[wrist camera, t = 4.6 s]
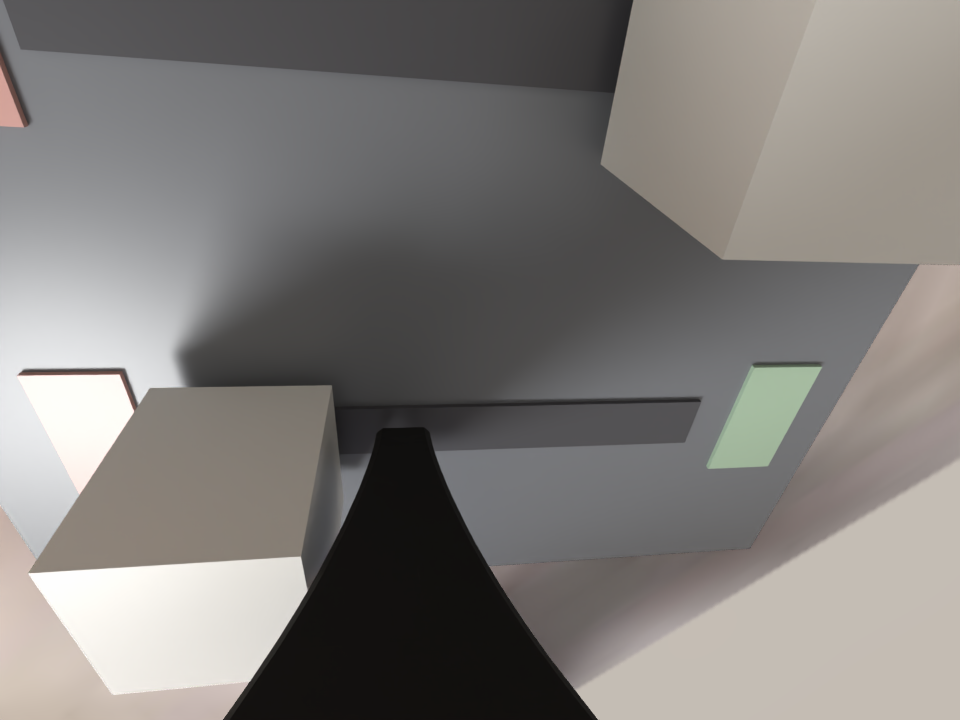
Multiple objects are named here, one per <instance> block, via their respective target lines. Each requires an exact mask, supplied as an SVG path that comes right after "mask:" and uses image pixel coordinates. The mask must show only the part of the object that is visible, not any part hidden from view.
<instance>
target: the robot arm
mask: <svg viewBox="0 0 960 720" xmlns="http://www.w3.org/2000/svg"><path fill="white" fill-rule="evenodd" d="M223 720H598V719H597V718H596V717H595V715H594V714H593V713H592V712H591V710H590V709H589V708H588V706H587V705H586V704H585V703H584V701H583V700H582V699H581V698H580V696H579V695H578V693H577V692H576V691H575V690H574V688H573V687H572V686H571V685H570V683H569V682H568V681H567V679H566V678H565V677H564V676H563V674H562V673H561V672H560V670H559V669H558V668H557V667H556V665H555V664H554V663H553V661H552V660H551V659H550V658H549V656H548V655H547V653H546V652H545V651H544V649H543V648H542V646H541V645H540V644H539V642H538V641H537V639H536V638H535V637H534V635H533V634H532V632H531V631H530V629H529V628H528V627H527V625H526V624H525V622H524V621H523V619H522V618H521V616H520V615H519V613H518V612H517V610H516V609H515V607H514V606H513V604H512V603H511V601H510V600H509V598H508V597H507V595H506V594H505V592H504V590H503V589H502V587H501V586H500V584H499V582H498V581H497V579H496V577H495V576H494V574H493V572H492V571H491V569H490V567H489V566H488V564H487V562H486V560H485V559H484V557H483V555H482V553H481V552H480V550H479V548H478V546H477V545H476V543H475V541H474V539H473V537H472V535H471V533H470V531H469V530H468V528H467V526H466V524H465V522H464V520H463V518H462V515H461V513H460V511H459V509H458V507H457V505H456V503H455V501H454V499H453V497H452V495H451V492H450V490H449V488H448V486H447V483H446V481H445V478H444V476H443V473H442V471H441V468H440V466H439V463H438V460H437V457H436V454H435V451H434V448H433V444H432V440H431V436H430V432H429V431H428V430H427V429H426V428H425V427H406V428H382V429H381V430H380V431H378V432H377V433H376V438H375V443H374V447H373V451H372V454H371V457H370V460H369V463H368V466H367V469H366V472H365V474H364V477H363V479H362V482H361V485H360V487H359V490H358V492H357V494H356V496H355V499H354V501H353V503H352V505H351V508H350V510H349V512H348V514H347V517H346V519H345V521H344V523H343V525H342V527H341V529H340V531H339V533H338V535H337V537H336V539H335V541H334V543H333V545H332V547H331V549H330V551H329V552H328V554H327V556H326V558H325V560H324V562H323V564H322V566H321V568H320V570H319V572H318V573H317V575H316V577H315V579H314V581H313V582H312V584H311V586H310V588H309V589H308V591H307V593H306V595H305V596H304V598H303V600H302V601H301V603H300V605H299V606H298V608H297V610H296V611H295V613H294V614H293V616H292V618H291V619H290V621H289V623H288V624H287V626H286V627H285V629H284V631H283V632H282V634H281V635H280V637H279V639H278V640H277V642H276V643H275V645H274V646H273V648H272V649H271V651H270V652H269V654H268V655H267V657H266V658H265V660H264V661H263V663H262V664H261V666H260V667H259V669H258V670H257V672H256V673H255V675H254V676H253V678H252V679H251V681H250V682H249V684H248V685H247V687H246V688H245V689H244V691H243V692H242V694H241V695H240V697H239V698H238V699H237V701H236V702H235V704H234V705H233V707H232V708H231V709H230V711H229V712H228V714H227V715H226V716H225V718H224V719H223Z"/></svg>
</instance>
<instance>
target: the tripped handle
mask: <svg viewBox="0 0 960 720" xmlns="http://www.w3.org/2000/svg"><path fill="white" fill-rule="evenodd" d="M343 501H344V496H343V487H342V477H341V468H340V458H339V449H338V439H337V429H336V420H335V410H334V401H333V391H332V385H316V386H247V387H178V388H150V389H149V390H148V392H147V393H146V395H145V396H144V398H143V399H142V401H141V402H140V404H139V405H138V407H137V408H136V410H135V411H134V413H133V415H132V416H131V418H130V419H129V421H128V422H127V424H126V425H125V427H124V428H123V430H122V431H121V433H120V434H119V436H118V437H117V439H116V440H115V442H114V443H113V445H112V446H111V448H110V450H109V451H108V453H107V454H106V456H105V457H104V459H103V460H102V462H101V463H100V465H99V466H98V468H97V469H96V471H95V472H94V474H93V475H92V477H91V478H90V480H89V481H88V483H87V484H86V486H85V488H84V489H83V491H82V492H81V494H80V495H79V497H78V498H77V500H76V501H75V503H74V504H73V506H72V507H71V509H70V510H69V512H68V513H67V515H66V516H65V518H64V519H63V521H62V522H61V524H60V526H59V527H58V529H57V530H56V532H55V533H54V535H53V536H52V538H51V539H50V541H49V542H48V544H47V545H46V547H45V548H44V550H43V551H42V553H41V554H40V556H39V557H38V559H37V560H36V562H35V564H34V565H33V567H32V568H31V570H30V571H29V573H28V574H29V576H30V577H31V579H32V580H33V581H34V583H35V584H36V586H37V587H38V589H39V590H40V592H41V593H42V594H43V596H44V597H45V599H46V600H47V602H48V603H49V604H50V606H51V607H52V609H53V610H54V612H55V613H56V615H57V616H58V617H59V619H60V620H61V622H62V623H63V625H64V626H65V627H66V629H67V630H68V632H69V633H70V635H71V636H72V638H73V639H74V640H75V642H76V643H77V645H78V646H79V648H80V649H81V650H82V652H83V653H84V655H85V656H86V658H87V659H88V661H89V662H90V663H91V665H92V666H93V668H94V669H95V671H96V672H97V674H98V675H99V676H100V678H101V679H102V681H103V682H104V684H105V685H106V686H107V688H108V689H109V691H110V692H111V694H112V695H117V694H128V693H138V692H148V691H159V690H169V689H180V688H190V687H201V686H211V685H222V684H232V683H243V682H250V681H251V679H252V678H253V676H254V675H255V673H256V672H257V670H258V669H259V667H260V666H261V664H262V663H263V661H264V660H265V658H266V657H267V655H268V654H269V652H270V651H271V649H272V648H273V646H274V645H275V643H276V642H277V640H278V639H279V637H280V635H281V634H282V632H283V631H284V629H285V627H286V626H287V624H288V623H289V621H290V619H291V618H292V616H293V614H294V613H295V611H296V610H297V608H298V606H299V605H300V603H301V601H302V600H303V598H304V596H305V595H306V593H307V591H308V589H309V588H310V586H311V584H312V582H313V581H314V579H315V577H316V575H317V573H318V572H319V570H320V568H321V566H322V564H323V562H324V560H325V558H326V556H327V554H328V552H329V551H330V549H331V547H332V545H333V543H334V541H335V539H336V537H337V535H338V533H339V531H340V527H341V518H342V510H343Z"/></svg>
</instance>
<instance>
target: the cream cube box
mask: <svg viewBox="0 0 960 720" xmlns="http://www.w3.org/2000/svg"><path fill="white" fill-rule="evenodd" d="M601 165H602V166H603V167H605V168H606V169H607V170H608V171H610V172H611V173H612V174H614V175H615V176H616V177H617V178H619V179H620V180H621V181H623V182H624V183H625V184H626V185H628V186H629V187H630V188H631V189H633V190H634V191H635V192H637V193H638V194H639V195H640V196H642V197H643V198H644V199H646V200H647V201H648V202H649V203H651V204H652V205H653V206H654V207H656V208H657V209H658V210H660V211H661V212H662V213H663V214H665V215H666V216H667V217H669V218H670V219H671V220H672V221H674V222H675V223H676V224H677V225H679V226H680V227H681V228H683V229H684V230H685V231H686V232H688V233H689V234H690V235H691V236H693V237H694V238H695V239H697V240H698V241H699V242H700V243H702V244H703V245H704V246H706V247H707V248H708V249H709V250H711V251H712V252H713V253H714V254H716V255H717V256H718V257H720V258H721V259H722V260H760V261H803V262H846V263H888V264H931V265H960V0H633V4H632V9H631V14H630V19H629V24H628V29H627V34H626V39H625V44H624V49H623V54H622V59H621V64H620V69H619V74H618V79H617V84H616V89H615V94H614V99H613V104H612V109H611V114H610V119H609V124H608V129H607V134H606V139H605V144H604V149H603V154H602V159H601Z"/></svg>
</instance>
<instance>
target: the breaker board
mask: <svg viewBox="0 0 960 720" xmlns="http://www.w3.org/2000/svg"><path fill="white" fill-rule="evenodd" d="M632 4H633V0H0V505H1V507H2V508H3V510H4V511H5V513H6V514H7V516H8V517H9V519H10V520H11V522H12V523H13V525H14V527H15V528H16V530H17V531H18V533H19V534H20V536H21V537H22V539H23V540H24V542H25V543H26V545H27V546H28V548H29V549H30V551H31V552H32V554H33V555H34V557H35V558H36V560H37V559H38V557H39V556H40V554H41V553H42V551H43V550H44V548H45V547H46V545H47V544H48V542H49V541H50V539H51V538H52V536H53V535H54V533H55V532H56V530H57V529H58V527H59V526H60V524H61V522H62V521H63V519H64V518H65V516H66V515H67V513H68V512H69V510H70V509H71V507H72V506H73V504H74V503H75V501H76V500H77V498H78V497H79V495H80V494H81V492H82V491H83V489H84V488H85V486H86V484H87V483H88V481H89V480H90V478H91V477H92V475H93V474H94V472H95V471H96V469H97V468H98V466H99V465H100V463H101V462H102V460H103V459H104V457H105V456H106V454H107V453H108V451H109V450H110V448H111V446H112V445H113V443H114V442H115V440H116V439H117V437H118V436H119V434H120V433H121V431H122V430H123V428H124V427H125V425H126V424H127V422H128V421H129V419H130V418H131V416H132V415H133V413H134V411H135V410H136V408H137V407H138V405H139V404H140V402H141V401H142V399H143V398H144V396H145V395H146V393H147V392H148V390H149V389H150V388H178V387H247V386H316V385H332V391H333V401H334V410H335V420H336V429H337V439H338V449H339V458H340V468H341V477H342V487H343V496H344V501H343V510H342V518H341V527H342V525H343V523H344V521H345V519H346V517H347V514H348V512H349V510H350V508H351V505H352V503H353V501H354V499H355V496H356V494H357V492H358V490H359V487H360V485H361V482H362V479H363V477H364V474H365V472H366V469H367V466H368V463H369V460H370V457H371V454H372V451H373V447H374V443H375V438H376V433H377V432H378V431H380V430H381V429H382V428H406V427H425V428H426V429H427V430H428V431H429V432H430V436H431V440H432V444H433V448H434V451H435V454H436V457H437V460H438V463H439V466H440V468H441V471H442V473H443V476H444V478H445V481H446V483H447V486H448V488H449V490H450V492H451V495H452V497H453V499H454V501H455V503H456V505H457V507H458V509H459V511H460V513H461V515H462V518H463V520H464V522H465V524H466V526H467V528H468V530H469V531H470V533H471V535H472V537H473V539H474V541H475V543H476V545H477V546H478V548H479V550H480V552H481V553H482V555H483V557H484V559H485V560H486V562H487V564H488V566H500V565H515V564H529V563H544V562H559V561H573V560H588V559H603V558H617V557H632V556H646V555H661V554H676V553H690V552H705V551H720V550H734V549H749V548H751V546H752V544H753V542H754V541H755V539H756V537H757V536H758V534H759V532H760V531H761V529H762V527H763V526H764V524H765V522H766V521H767V519H768V517H769V516H770V514H771V512H772V511H773V509H774V507H775V506H776V504H777V502H778V500H779V499H780V497H781V495H782V494H783V492H784V490H785V489H786V487H787V485H788V484H789V482H790V480H791V479H792V477H793V475H794V474H795V472H796V470H797V469H798V467H799V465H800V464H801V462H802V460H803V458H804V457H805V455H806V453H807V452H808V450H809V448H810V447H811V445H812V443H813V442H814V440H815V438H816V437H817V435H818V433H819V432H820V430H821V428H822V427H823V425H824V423H825V422H826V420H827V418H828V417H829V415H830V413H831V411H832V410H833V408H834V406H835V405H836V403H837V401H838V400H839V398H840V396H841V395H842V393H843V391H844V390H845V388H846V386H847V385H848V383H849V381H850V380H851V378H852V376H853V375H854V373H855V371H856V369H857V368H858V366H859V364H860V363H861V361H862V359H863V358H864V356H865V354H866V353H867V351H868V349H869V348H870V346H871V344H872V343H873V341H874V339H875V338H876V336H877V334H878V333H879V331H880V329H881V327H882V326H883V324H884V322H885V321H886V319H887V317H888V316H889V314H890V312H891V311H892V309H893V307H894V306H895V304H896V302H897V301H898V299H899V297H900V296H901V294H902V292H903V291H904V289H905V287H906V285H907V284H908V282H909V280H910V279H911V277H912V275H913V274H914V272H915V270H916V269H917V267H918V265H919V264H888V263H846V262H803V261H760V260H722V259H721V258H720V257H718V256H717V255H716V254H714V253H713V252H712V251H711V250H709V249H708V248H707V247H706V246H704V245H703V244H702V243H700V242H699V241H698V240H697V239H695V238H694V237H693V236H691V235H690V234H689V233H688V232H686V231H685V230H684V229H683V228H681V227H680V226H679V225H677V224H676V223H675V222H674V221H672V220H671V219H670V218H669V217H667V216H666V215H665V214H663V213H662V212H661V211H660V210H658V209H657V208H656V207H654V206H653V205H652V204H651V203H649V202H648V201H647V200H646V199H644V198H643V197H642V196H640V195H639V194H638V193H637V192H635V191H634V190H633V189H631V188H630V187H629V186H628V185H626V184H625V183H624V182H623V181H621V180H620V179H619V178H617V177H616V176H615V175H614V174H612V173H611V172H610V171H608V170H607V169H606V168H605V167H603V166H602V165H601V159H602V154H603V149H604V144H605V139H606V134H607V129H608V124H609V119H610V114H611V109H612V104H613V99H614V94H615V89H616V84H617V79H618V74H619V69H620V64H621V59H622V54H623V49H624V44H625V39H626V34H627V29H628V24H629V19H630V14H631V9H632ZM341 527H340V529H341Z"/></svg>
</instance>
